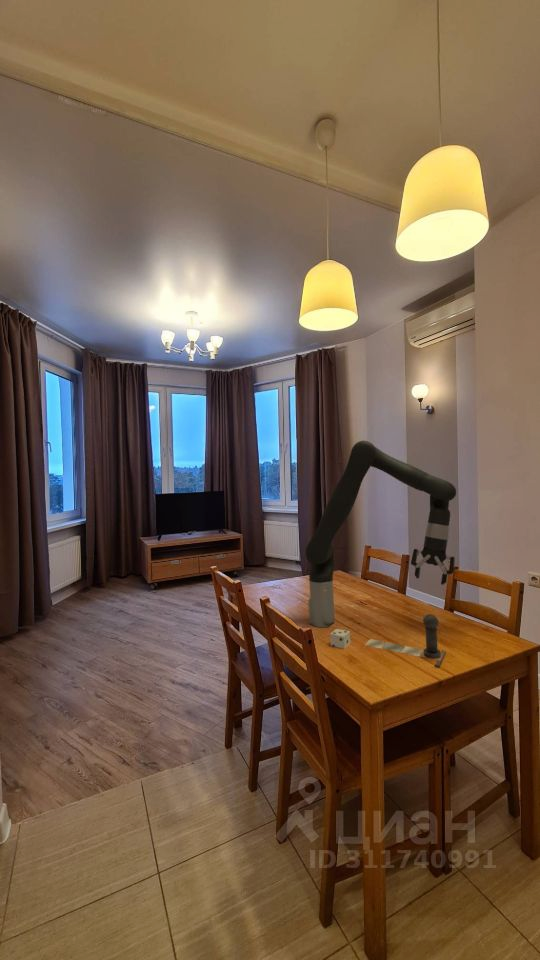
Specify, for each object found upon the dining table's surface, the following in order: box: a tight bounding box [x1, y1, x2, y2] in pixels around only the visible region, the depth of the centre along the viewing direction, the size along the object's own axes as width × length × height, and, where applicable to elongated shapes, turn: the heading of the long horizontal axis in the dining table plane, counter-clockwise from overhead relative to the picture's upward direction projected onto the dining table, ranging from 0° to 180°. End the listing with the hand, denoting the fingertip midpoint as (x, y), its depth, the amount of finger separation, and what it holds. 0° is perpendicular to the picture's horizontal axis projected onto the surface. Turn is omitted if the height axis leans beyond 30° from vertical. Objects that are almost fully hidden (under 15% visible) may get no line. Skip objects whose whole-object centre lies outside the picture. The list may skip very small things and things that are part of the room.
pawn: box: [422, 613, 442, 660], centre depth 120 cm, size 5×5×13 cm
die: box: [329, 628, 351, 650], centre depth 131 cm, size 5×5×5 cm
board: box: [364, 638, 447, 669], centre depth 125 cm, size 24×11×1 cm, turn 56°
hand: (429, 581), depth 139 cm, fingers open, 8 cm apart
